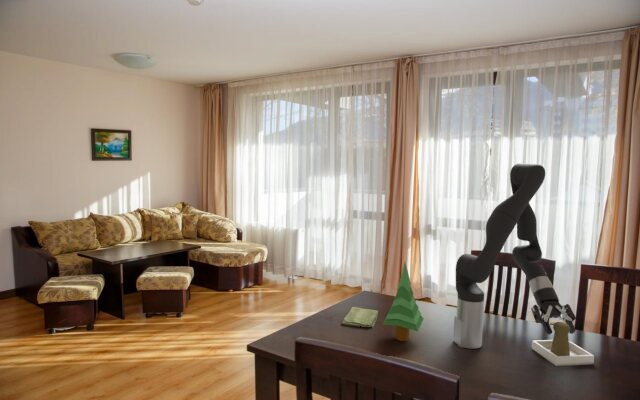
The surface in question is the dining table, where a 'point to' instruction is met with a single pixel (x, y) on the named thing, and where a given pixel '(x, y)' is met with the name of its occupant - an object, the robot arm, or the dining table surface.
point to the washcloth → (361, 317)
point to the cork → (561, 339)
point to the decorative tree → (404, 309)
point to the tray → (575, 358)
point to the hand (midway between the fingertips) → (561, 333)
